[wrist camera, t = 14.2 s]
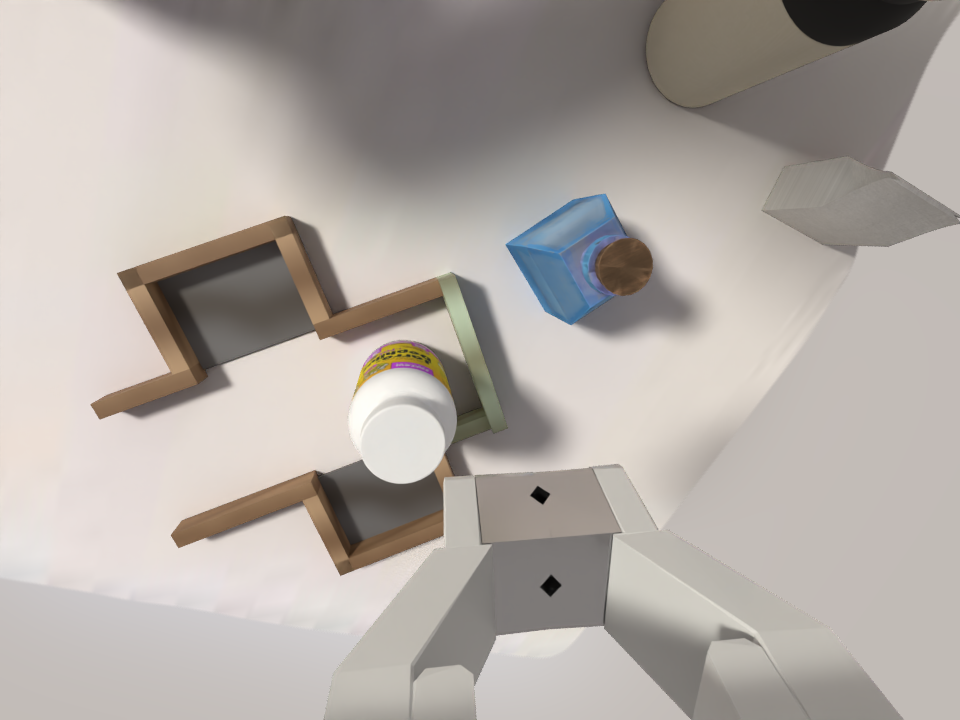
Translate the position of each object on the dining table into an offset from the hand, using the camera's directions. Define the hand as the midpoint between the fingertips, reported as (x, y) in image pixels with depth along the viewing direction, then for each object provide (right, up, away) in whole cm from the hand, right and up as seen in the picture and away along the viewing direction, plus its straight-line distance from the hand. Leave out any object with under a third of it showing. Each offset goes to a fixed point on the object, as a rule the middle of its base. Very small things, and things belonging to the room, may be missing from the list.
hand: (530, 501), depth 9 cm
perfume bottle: (+5, +11, +30) cm, 33 cm away
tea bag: (+26, +15, +33) cm, 44 cm away
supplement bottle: (-7, +1, +31) cm, 32 cm away
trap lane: (-13, -1, +30) cm, 33 cm away
